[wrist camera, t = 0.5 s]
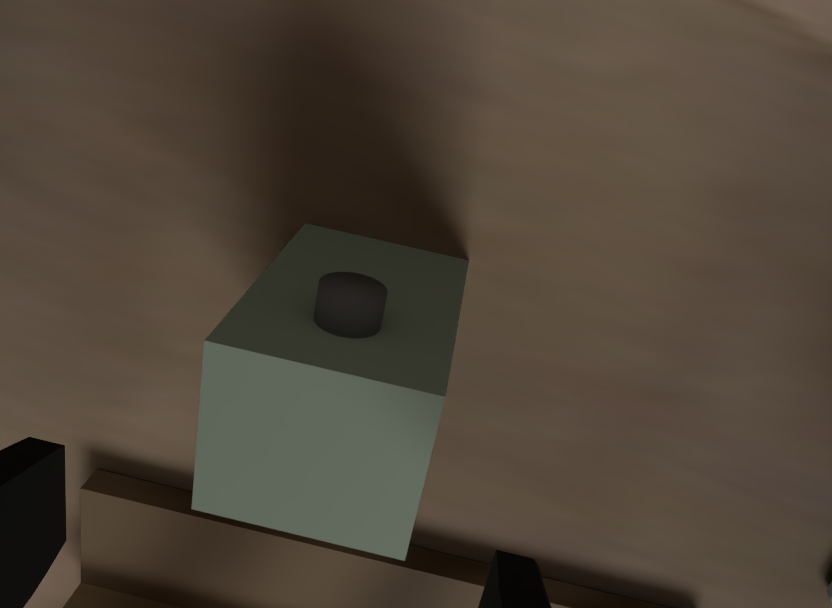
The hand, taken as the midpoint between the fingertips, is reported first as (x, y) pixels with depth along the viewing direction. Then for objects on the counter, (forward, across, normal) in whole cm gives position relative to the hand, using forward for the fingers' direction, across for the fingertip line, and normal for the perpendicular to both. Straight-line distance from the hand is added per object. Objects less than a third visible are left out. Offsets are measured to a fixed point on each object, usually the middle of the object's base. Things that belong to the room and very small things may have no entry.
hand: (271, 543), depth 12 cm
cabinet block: (+9, 0, 0) cm, 9 cm away
